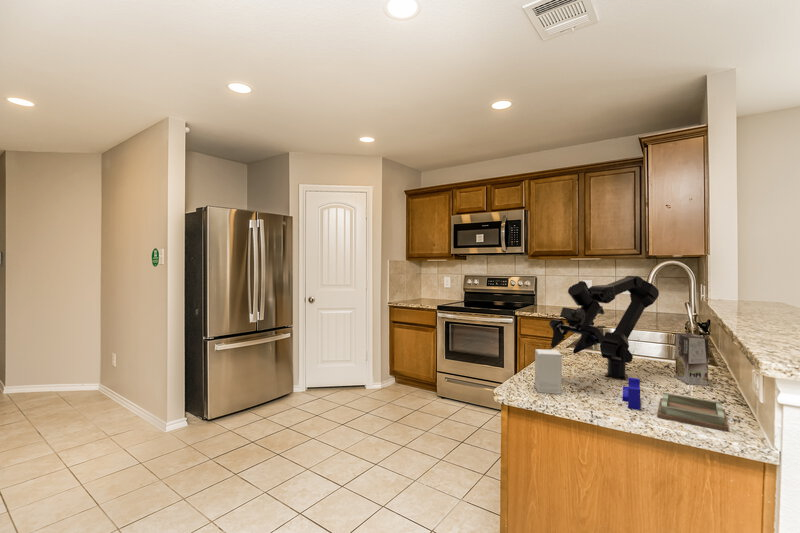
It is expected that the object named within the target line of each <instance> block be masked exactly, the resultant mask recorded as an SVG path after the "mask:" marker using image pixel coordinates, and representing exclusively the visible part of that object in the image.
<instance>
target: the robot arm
mask: <svg viewBox="0 0 800 533" xmlns="http://www.w3.org/2000/svg"><path fill="white" fill-rule="evenodd" d="M626 292H627V293H630V294H629V296H630V303H629V305H628V306H627V308H626V310H625V311H624V314H623V315H622V317H621V319H620V321H618V324H617V326H616V327H615V329H614V331H612V332H609V331H606V332H605V333H604V334H603V332H602V331H601V330H600V328H599V327H598V326H595V322H594V320H595V319H596V318H597V316H598V315H604V314H605V310H604V308H603V306H602V305H600V304H610V303H611V302H612V301H614V300H615V299H616V297H617V296H618V295H621V294H622V293H626ZM567 293H568V295H569V296H570V298H572V300H573V301H574V303H575V304H576V305H577V306H579V307H577V308H576V309H575V308H570V307H562V309H561V312H560V314H559V317H560V318H563V319H565V322H566V323H567V324H568V325H567V324H565V322H563V320H560V319H555V318H553V319H551V320H550V321H549V322H548V326H549V327H550V328H551V329H552V331H553V332H552V337H551V343H550V347H551V349H553V348H555V347H556V346H557V345H559V343H561V341H563V340H564V339H565V337H566V335H567V334H568V333H573V334H577V335H580V339H579V340H578V341H577V343H576V345H575V346H574V348H573V351H572V352H573V354H575V355H576V354H578V353H580V352H581V351H584V350H585V349H588V348H590V347H593V346H597V345H598V344H599V350H600V354H601V357H602V359H607V372H606V374H605V375H604V376H605V377H606V378H611V379H612V378H613V379H618V380H627V378H628V374H626V371H627V370H626V366H627V365H626V364H630V363H631V362H632V360H633V358H634V357H633V354H632V353H631V351H630V349H629V348H630V345H629V344H630V343H629V338H630V335H631V334H632V332H633V331H634V329H635V326H636V325H637V323H638V321H639V320H640V317H641V316H642V314H643V312H644V311H645V309H646V308H648V307H650V306H651V305H653V304H654V303H656V302H655V301H656V300H657V299H658V298H659V295H660V292H659V289H658V288H657V287H656V286H655V284H652V283H651V282H649V281H647V280H644V279H643V278H642V277H641V276H639V275H627V276H625V277H623V278H621V279H617V280H615V281H614V282H610V283H608V284H600V285H599V284H598V285H597V284H596V285H592V286H590V287H589V286H588V284H587V283H586V281H584V280H583V281H582V280H580V281H579V282H578V283H577V282H576V283H575V284H573V285H571V286H569V288H568V290H567Z"/></svg>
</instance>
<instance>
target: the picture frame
mask: <svg viewBox="0 0 800 533" xmlns="http://www.w3.org/2000/svg"><path fill="white" fill-rule="evenodd" d="M722 404H723V403H722V402H721V401H714V400H710V399H709V400H708V399H703V398H697V397H691V396H685V395H678V394H673V393H667V392H663V395H662V398H661V397H660V399H659V404H658V409H657V414H656V418H659V419H664V420H669V421H673V422H677V423H678V422H679V423H683V424H688V425H694V426H699V427H703V428H709V429H712V430H713V429H714V430H717V431H719V430H720V431H723V432H729V430H730V427H729V423H728V417H727V414H726V410H725V408H724V407H723V405H722Z"/></svg>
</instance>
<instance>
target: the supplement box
mask: <svg viewBox="0 0 800 533" xmlns="http://www.w3.org/2000/svg"><path fill="white" fill-rule="evenodd" d="M534 351H535V352H534V387H535V389H536V391H537V393H540V394H541V393H542V394H555V395H556V394H557V395H561V394H562V374H563V373H562V371H563V370H562V368H563V366H562V364H563V363H562V360H563V357H562V356H563V355H562V354H561V352H560V351H559V350H558V349H540V348H539V349H538V348H535V350H534Z"/></svg>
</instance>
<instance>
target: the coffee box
mask: <svg viewBox="0 0 800 533" xmlns="http://www.w3.org/2000/svg"><path fill="white" fill-rule="evenodd" d="M709 340H710V338H708V337H705V336H703V335H699V334H695V333H675V378H677V379H679V380H680V381H682V382H684V383H686V384H687V385H696V386H697V385H698V386H708V384H709V383H708V381H709V344H710V342H709Z"/></svg>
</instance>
